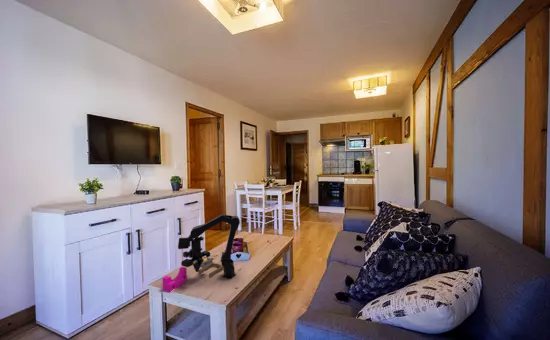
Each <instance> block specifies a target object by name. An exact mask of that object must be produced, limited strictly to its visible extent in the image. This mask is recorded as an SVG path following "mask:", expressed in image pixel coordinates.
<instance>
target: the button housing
mask: <svg viewBox="0 0 550 340" xmlns="http://www.w3.org/2000/svg"><path fill="white" fill-rule="evenodd" d="M203 258H207V257H206V256H204V257H202V259H203ZM211 263H214V262H213V258H211V257H208V258H207V261H205V262H202V264H201V266H200V268H204V267H205V266H207V265H209V264H211Z"/></svg>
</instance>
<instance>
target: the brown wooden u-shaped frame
mask: <svg viewBox="0 0 550 340" xmlns="http://www.w3.org/2000/svg"><path fill="white" fill-rule="evenodd" d="M213 267H214V268H216V269H214V270H213V271H211V272H209V274H208V278H210V279H211V278H212V277H214V276H216V275H217V274H219V273H220V272H222V271H224V267H223V266H222V264H220V263H216V262H213V263H211V264H209V265H207V266H205V267H201V268H199V271H198V272H197V274H198V275H201V274H202V273H205V272H206V271H208V270H210V269H211V268H213Z"/></svg>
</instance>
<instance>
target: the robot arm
mask: <svg viewBox="0 0 550 340" xmlns="http://www.w3.org/2000/svg"><path fill="white" fill-rule="evenodd" d="M222 222H223V223H226V224H228V225H230V228H229V232H228V237H227V242H226V245H225V250H224V251H222V252H221V257H220V263H221V265H222V266H223V267H224V270H223V276H222V278H223V279H228V280H231V279H232V278H234V277H235V276H237V274H236V272H235V271H236V270H235V264H234V260H233V259H232V250H233V244H234V241H235V236H236V232H237V230H238V229H239V227H240V226H239V225H240V223H241V220H240V218H239V216H237V215H229V214H224V213H221V214H220V215H218V216H217V217H214V218H213V219H211V220H209V221H207V222H205V223H203V224H200V225H196V226H193V227H192V229H191V230H190V233H189V235H188V237H178V243H177V244H178V245H177V249H178V250H184V249H185V250H186V251H183V252H182V256H183V258H185V259H183V260H182V261H181V262H180V263H181V266H180V267H185V268H189V267H191V266H193V268H194V270H195V272H196V273H198V271H199V270H200V269H201V264H202V262H203V261H204V259H202V258H203V257H207V258H211V252H210V251H206V250H203V248H202V241H204V239H205V238H204V237H203V236H202V235H203V234H204V233H205V232H207V231H208V230H209V229H211V228H213V227H215V226H217V225H219V224H221V223H222ZM189 247H191V248H190V249H189ZM187 249H189V251H187Z"/></svg>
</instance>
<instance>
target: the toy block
mask: <svg viewBox="0 0 550 340" xmlns="http://www.w3.org/2000/svg"><path fill="white" fill-rule="evenodd" d="M187 268H188V267H185V266H180V267H179V269H178V270H179V271H178V273H177V275H176V276H175V277H174V278H173V279H172V277H171V276H169V275H165V276H163V277H162V278H161V279H162V282H161V283H162V291H165V292H169V293H170V292H171V291H172V290H173V289H175V288H176V289H177V287H178V288H179V287H180V285H181V286H183V285H184V284H185V281H186V280H187V279H188V277H187V273H188V271H187ZM176 289H175V290H176ZM173 291H174V290H173ZM173 291H172V292H173ZM172 292H171V293H172Z"/></svg>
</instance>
